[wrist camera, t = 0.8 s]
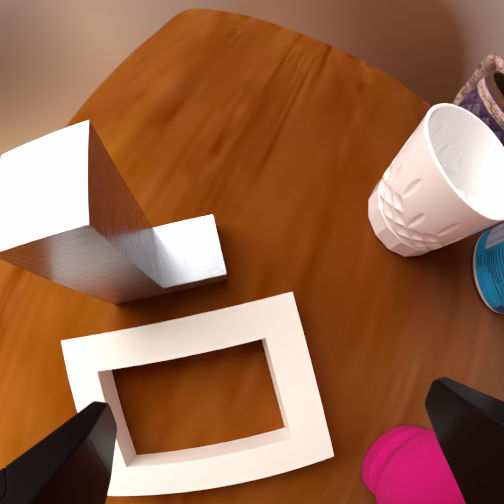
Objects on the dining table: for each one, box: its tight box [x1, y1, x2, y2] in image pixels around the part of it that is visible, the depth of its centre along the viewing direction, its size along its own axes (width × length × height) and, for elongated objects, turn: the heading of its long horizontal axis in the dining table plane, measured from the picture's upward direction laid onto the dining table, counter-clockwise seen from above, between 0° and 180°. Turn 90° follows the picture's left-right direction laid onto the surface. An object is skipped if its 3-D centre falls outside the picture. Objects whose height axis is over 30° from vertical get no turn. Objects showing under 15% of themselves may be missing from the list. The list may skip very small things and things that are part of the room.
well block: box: [61, 292, 334, 496], centre depth 17 cm, size 11×15×2 cm
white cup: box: [368, 103, 504, 257], centre depth 19 cm, size 8×8×10 cm
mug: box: [453, 53, 504, 147], centre depth 20 cm, size 10×7×12 cm
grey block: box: [0, 120, 227, 304], centre depth 15 cm, size 4×8×13 cm, turn 104°
